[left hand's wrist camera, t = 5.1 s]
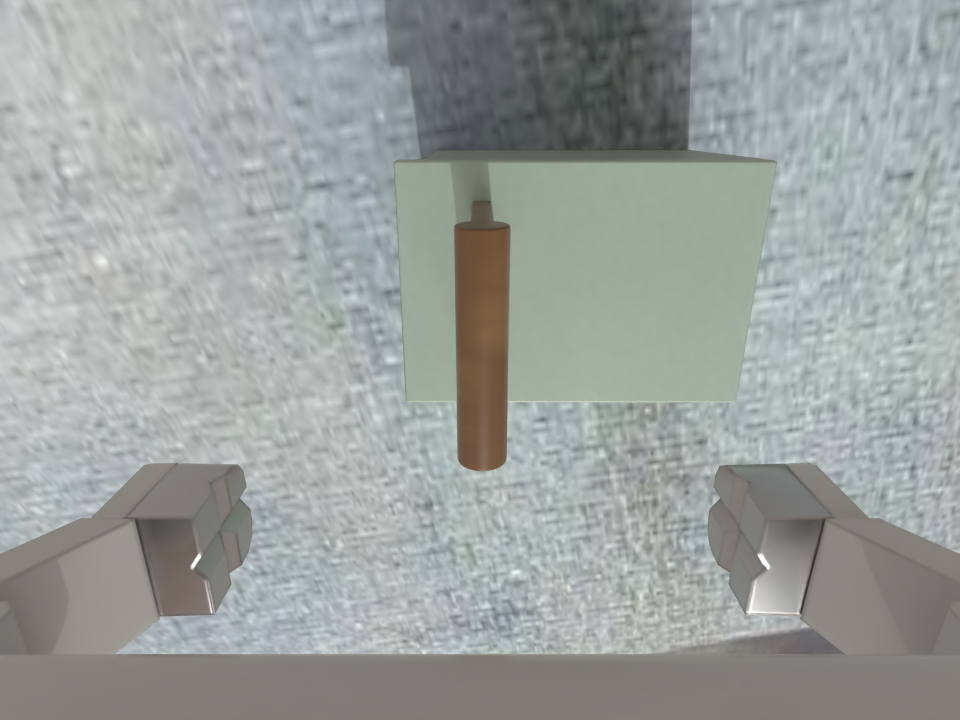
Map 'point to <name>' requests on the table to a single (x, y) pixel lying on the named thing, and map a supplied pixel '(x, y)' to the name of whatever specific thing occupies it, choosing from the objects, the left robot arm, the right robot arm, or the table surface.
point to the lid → (574, 283)
